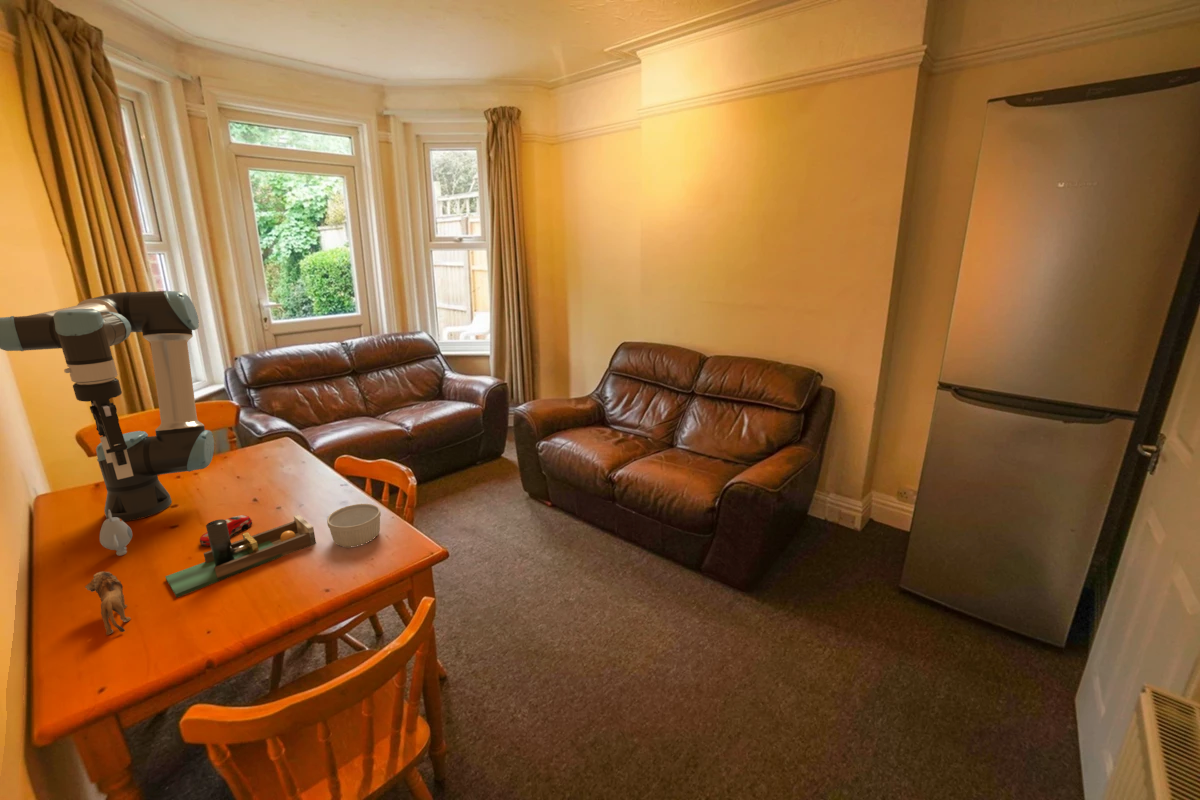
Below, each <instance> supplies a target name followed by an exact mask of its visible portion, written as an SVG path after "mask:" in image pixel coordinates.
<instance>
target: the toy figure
mask: <svg viewBox="0 0 1200 800" xmlns="http://www.w3.org/2000/svg"><path fill="white" fill-rule="evenodd" d="M108 517H109V519H107V518H106V519H105V520H104V521H103V523H102V524H101V528H100V531H99V543H100V544H101V545H102V547H103V548H105V549H108V550H111V551H116V552H115V554H116V555H117V556H120V557H121V556H124V555H126V554H127V553H128V550H127V549H128V547H127V545H128V544H130V542H131V540H132V538H133V531H132V528H131V527H130V526H129V525H128V524H127V523H126V521H122V519H119V518H117V517H112V514H111V511H110V510H108Z"/></svg>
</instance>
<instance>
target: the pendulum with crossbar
mask: <svg viewBox="0 0 1200 800" xmlns="http://www.w3.org/2000/svg"><path fill="white" fill-rule="evenodd" d="M205 527H206V533H208V537H209V541H210V545H211V546H210V551H211V550H212V554H213V558H214V563H215V567H216V566H219V565H221V564H224V563H227V562H229V561H232V560H235V559H234V555H236V554H239V553H241V552H244V551H248V552H249V553H250V554H251V553H254V552H256V551H259V549H258V544H257V541H256V540H255V539H254V538H253V537H252V536H253V535H251V534H250V533H249V532H248V531H247V532H244V533H242V539H243V540H244V544H245V545H242V546H239V547H236V548H233V549H232V545H231V543H232V541H231V537H230V536H229V532H228V527H227V522H226V520H225V519H216V520H212V521H209V522H208V523H207V524H206V525H205Z"/></svg>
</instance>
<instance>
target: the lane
mask: <svg viewBox="0 0 1200 800" xmlns="http://www.w3.org/2000/svg"><path fill="white" fill-rule="evenodd" d="M293 520H294V521H291V522H287V523H285V524H282V525H279V526H277V527H273V528H270V529H268V530H265V531H262V532H258V533H257V534H254V535H251V536H252V537H253V538H254V539H255V540H256V541H257V544H258V549H259V551H256V552H254V553H251V554H250V553H249V552H248V551H244V552H241V553H239V554H236V555H234V559H235V560H232V561H229V562H227V563H224V564H221V565H219V566H216V567H215V563H214V558H213V554H212V550H211V549H210V550H208V551H206V552H205V551H204V552H203V556H204V562H201V563H198V564H196V565H193V566H190V567H188V568H185V569H181V570H179V571H177V572H174V573H170V574H168V575H165V579H166V582H167V584H168V585H169V587H170V589H171V591H172V592H173V594H174V596H175V597H176V598H180V597H182V596H184V595H185V596H186V595H188V594H190V593H193V592H195V591H197V590H200V589H203V588H205V587H208V586H211V585H213V584H216V583H218V582H221V581H225V580H226V579H229V578H231V577H234V576H236V575H239V574H241V573H244V572H246V571H249V570H252V569H255V568H256V567H260V566H262V565H265V564H268V563H269V562H270V563H271V562H272V561H274V560H277V559H279V558H283V557H285V556H287V555H290V554H293V553H295V552H298V551H300V550H302V549H306V548H308V547H310V546H313V545H315V543H316V544H317V541H316V535H315V531H314V526H313V525H312V524H311V523H309V522H308V521H307V520H306V519H304V517H302V516H301V515H300V514H295V515H294V516H293ZM285 531H293V532H294V533H295V535H296V537H294V538H291V539H288V540H286V541H283V542H281V540H280V536H281V534H282V533H283V532H285ZM231 545H232V549H233V548H236V547H239V546H242V545H245V544H244V540H243V538H242V539H239V540H237V541H233V542H231Z"/></svg>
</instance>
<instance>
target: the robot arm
mask: <svg viewBox="0 0 1200 800" xmlns="http://www.w3.org/2000/svg"><path fill="white" fill-rule="evenodd" d="M199 321H200V320H199V316H198V313H197V310H196V307H195V305H194V303H193V301H192V300H191V298H190V297H189V295H187V293H185V292H182V291H178V290H177V291H175V290H162V291H161V290H160V291H158V290H157V291H155V290H154V291H130V292H129V291H125V292H124V291H122V292H114V293H110V294H105V295H100V296H96V297H93V298H92V297H91V298H87V299H84V300H82V301H80V302H79V303H77V305H73V306H68V307H65V308H59V309H54V310H49V311H44V312H40V313H36V314H31V315H30V314H29V315H23V316H14V315H11V316H6V317H0V350H3V351H7V352H13V351H14V352H18V351H19V352H25V351H39V350H53V349H54V350H55V349H57V350H59V349H62V353H63V356H64V360H65V363H66V367H67V368H65V369H64V370H63V371H64V373H65V374H69V377H70V380H71V382H72V383H74V384H73V385H72V388H73V392H74V396H75V399H76V400H77V401H79V402H85V403H86V402H89V403H90V404H91V405H90V406H89V410H90V413H91V414H92V417H93V420H94V421H95V426H96V432H98V435H99V439H100V443H99V444H98V445H97V446H96V447H95V452H96V458H97V459H96V460H97V462H98V465H99V468H100V471H101V474H102V479H103V482H104V485H105V488H106V492H107V493H106V497H105V498H106V499H105V506H104V515H105V518H106V519H109V517H108V510H110V511H111V514H112V517H117V518H119V519H122V521H123V522H129V521H135V520H139V519H140V520H141V519H143V518H147V517H149V516H153V515H156V514H158V513H160V512H162V511H165V510H167V508H169V506H171V504H172V498H171V494H170V493H169V492H168V490H167V488H166V487H165V486H164V485H163V484H162V482H161V481H160V479H159V477H158V476H160V475H167V474H168V475H169V474H175V473H177V474H178V473H184V472H192V471H197V470H203V469H206V468H207V467H209V466H210V464H211V462H212V460H213V457H214V452H215V451H214V450H215V439H214V437H213V436H214V434H213V433H212V431H211V430H209V429H206V428H205V424H204V423H202V422H201V421H199V420H198V416H197V408H196V400H195V391H194V384H193V383H194V382H193V377H192V370H191V369H192V368H191V362H190V361H191V360H190V353H189V345H188V341H190V340H191V339H192V338H193V336H194V335H193V331H196V330H198V329H199V326H200V324H199V323H200V322H199ZM132 333H142V338H143V339H145V340H146V341H147V342H149V343H150V349H151V356H152V357H151V358H152V364H153V370H154V371H153V372H154V373H153V374H154V379H155V385H156V386H155V387H156V393H157V402H158V408H159V409H158V411H159V418H160V424H159V426H158V427H156V428H155V435H151V436H149V434H148V433H147V432H146V431H143V430H142V431H141V430H135V431H129V432H126V433H123V432H122V428H121V426H120V421H119V420H120V419H119V416H118V413H117V407H116V404H114V402H111V401H110V399H112V398H113V399H114V398H117V397H119V396H121V395H122V393H123V392H122V391H123V390H122V388H121V387H122V386H121V384H120V380H119V379H117V377H118V371H117V368H116V364H115V360H114V358H113V357H114V356H113V353H112V350H111V347H113V346H117V345H119V344H121V343H123V342H124V341H125V340H127V339H128V338H129V337H130V335H131V334H132Z"/></svg>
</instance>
